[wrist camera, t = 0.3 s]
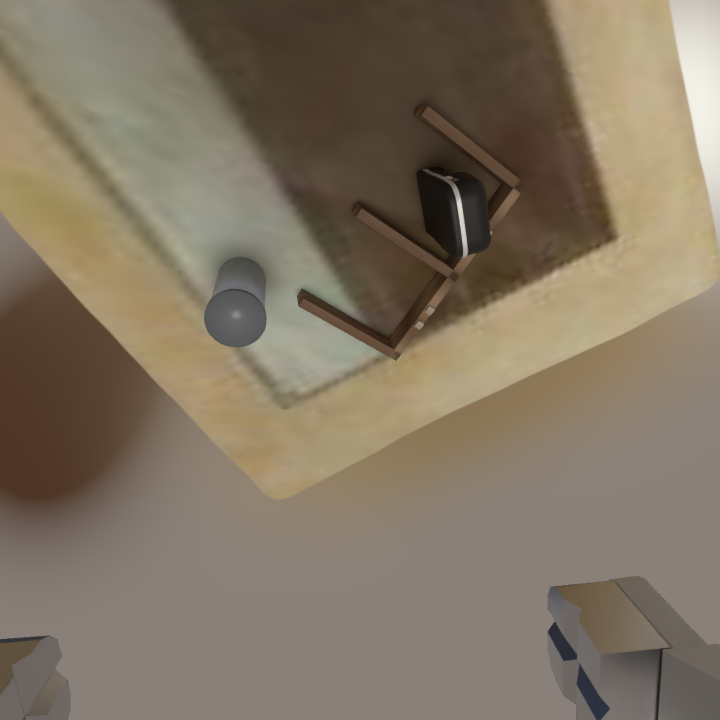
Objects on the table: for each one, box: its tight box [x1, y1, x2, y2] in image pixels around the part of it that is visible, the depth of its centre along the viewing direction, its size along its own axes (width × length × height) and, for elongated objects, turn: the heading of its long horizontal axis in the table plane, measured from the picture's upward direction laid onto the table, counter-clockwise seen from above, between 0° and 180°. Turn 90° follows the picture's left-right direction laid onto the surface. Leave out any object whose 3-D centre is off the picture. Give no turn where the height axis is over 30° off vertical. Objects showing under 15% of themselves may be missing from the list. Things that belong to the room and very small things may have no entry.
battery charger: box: [417, 167, 491, 258], centre depth 51 cm, size 7×4×11 cm, turn 13°
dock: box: [297, 105, 527, 360], centre depth 56 cm, size 23×13×3 cm, turn 145°
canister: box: [204, 258, 266, 347], centre depth 52 cm, size 5×5×11 cm
